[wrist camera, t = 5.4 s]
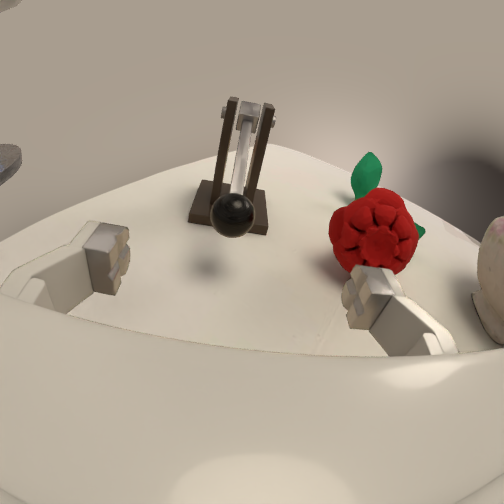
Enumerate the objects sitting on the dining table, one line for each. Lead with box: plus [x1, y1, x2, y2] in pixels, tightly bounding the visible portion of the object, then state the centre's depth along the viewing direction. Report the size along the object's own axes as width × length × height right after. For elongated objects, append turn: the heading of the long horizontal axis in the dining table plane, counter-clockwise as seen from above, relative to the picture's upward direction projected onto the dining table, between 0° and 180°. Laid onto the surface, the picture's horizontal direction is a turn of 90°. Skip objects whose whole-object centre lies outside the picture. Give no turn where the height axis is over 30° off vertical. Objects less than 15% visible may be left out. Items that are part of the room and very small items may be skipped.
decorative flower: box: [328, 152, 425, 275], centre depth 36 cm, size 14×30×10 cm, turn 154°
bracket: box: [188, 97, 276, 235], centre depth 33 cm, size 10×9×14 cm
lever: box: [210, 101, 261, 238], centre depth 26 cm, size 17×4×4 cm, turn 1°
